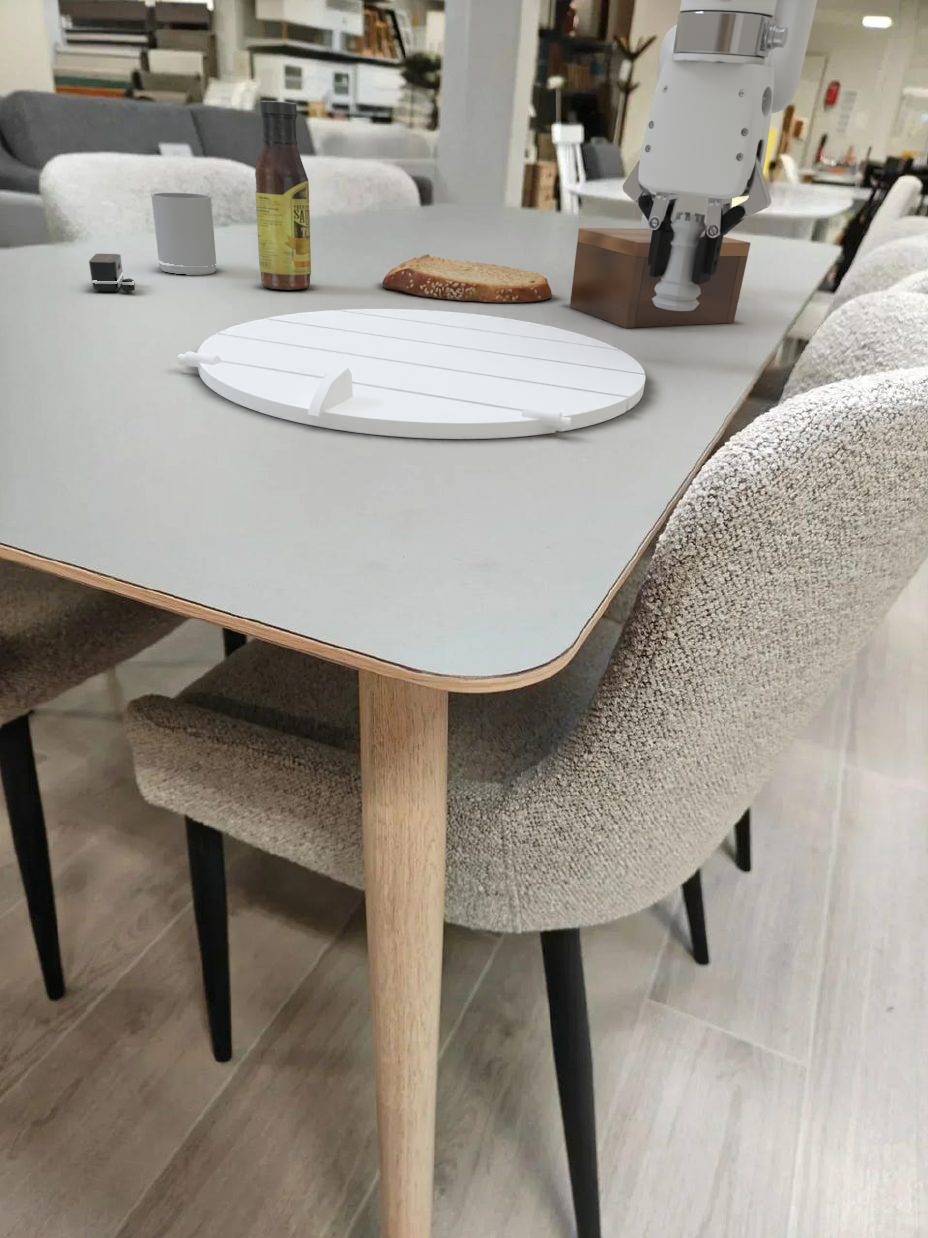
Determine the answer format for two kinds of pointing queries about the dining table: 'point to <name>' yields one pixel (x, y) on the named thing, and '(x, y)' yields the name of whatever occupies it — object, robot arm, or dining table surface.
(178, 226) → the cup
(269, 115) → the sauce bottle
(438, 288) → the slice of bread
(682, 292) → the rook chess piece
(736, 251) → the wooden box
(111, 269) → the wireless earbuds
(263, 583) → the dining table surface
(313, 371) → the lazy susan
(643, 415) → the dining table surface
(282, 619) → the dining table surface
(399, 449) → the dining table surface
